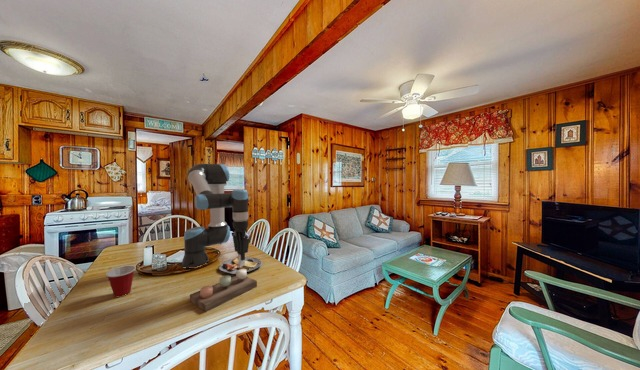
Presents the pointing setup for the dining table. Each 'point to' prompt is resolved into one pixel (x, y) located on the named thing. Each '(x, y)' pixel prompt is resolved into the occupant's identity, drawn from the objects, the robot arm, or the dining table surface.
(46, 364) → the dining table surface
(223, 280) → the sage button
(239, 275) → the cream button
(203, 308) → the button board
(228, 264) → the food plate
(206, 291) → the terracotta button
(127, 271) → the plastic cup
